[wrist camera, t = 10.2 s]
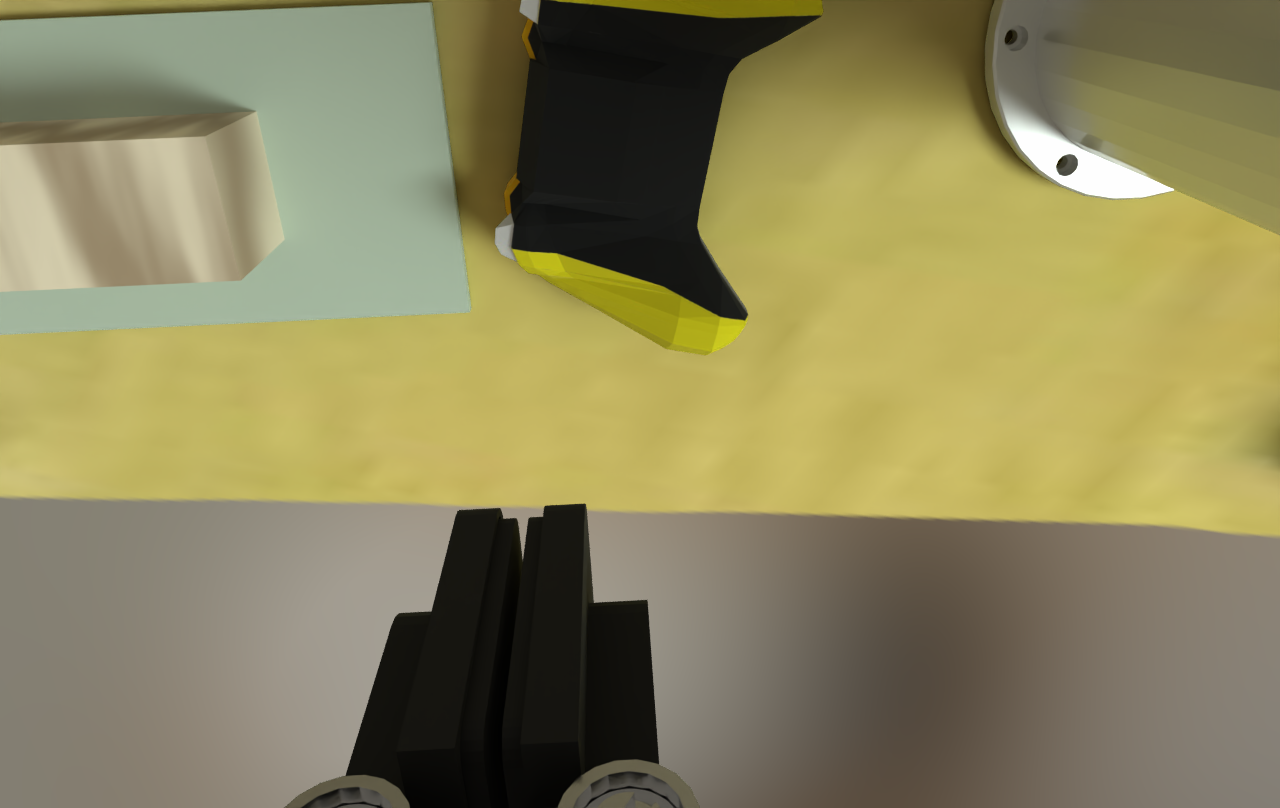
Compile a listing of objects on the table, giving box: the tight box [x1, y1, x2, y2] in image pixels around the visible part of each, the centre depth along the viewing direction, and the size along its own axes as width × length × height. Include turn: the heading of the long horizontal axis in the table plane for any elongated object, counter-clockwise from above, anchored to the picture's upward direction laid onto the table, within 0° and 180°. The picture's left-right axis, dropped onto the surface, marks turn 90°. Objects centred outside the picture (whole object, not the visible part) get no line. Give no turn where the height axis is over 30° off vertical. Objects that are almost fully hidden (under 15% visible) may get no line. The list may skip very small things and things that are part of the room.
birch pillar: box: [0, 111, 285, 292], centre depth 33 cm, size 5×5×12 cm
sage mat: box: [0, 2, 471, 335], centre depth 36 cm, size 20×12×1 cm, turn 92°
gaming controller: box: [495, 0, 823, 355], centre depth 33 cm, size 15×6×10 cm
